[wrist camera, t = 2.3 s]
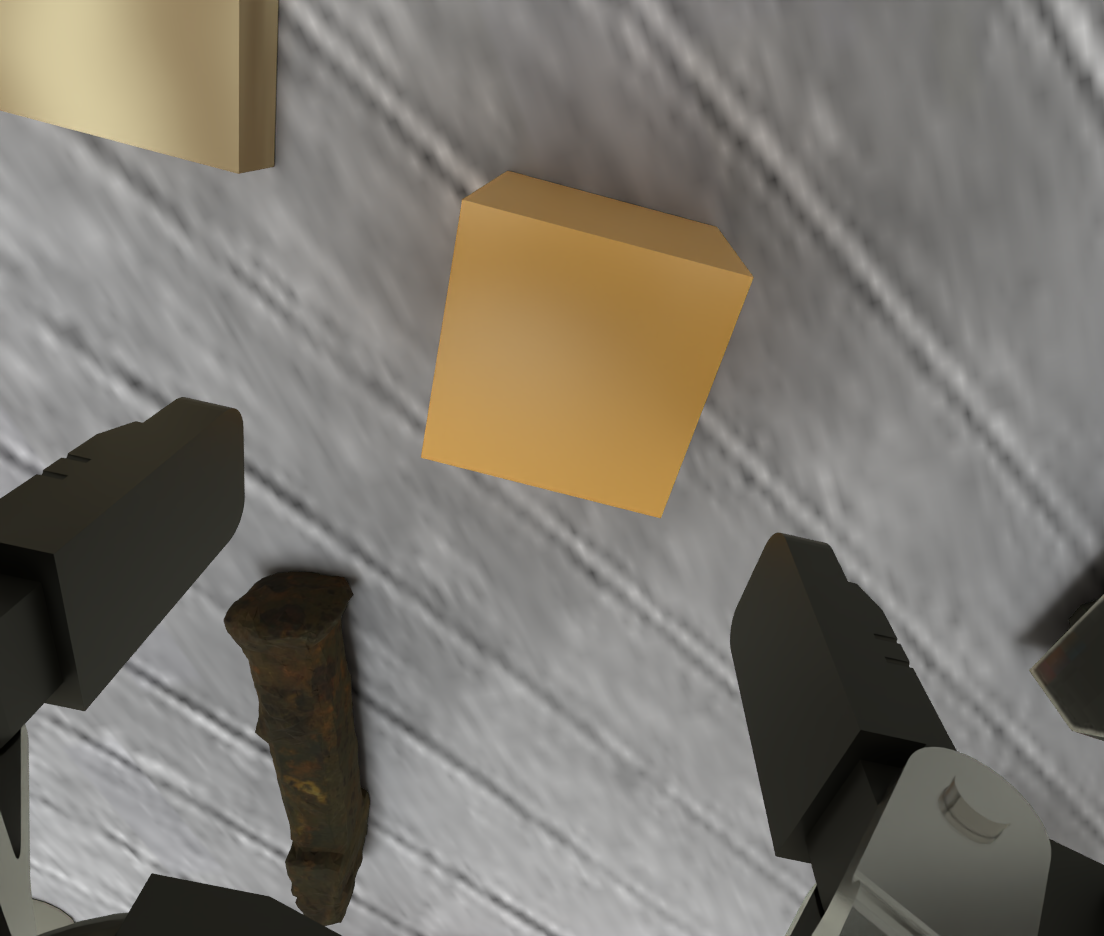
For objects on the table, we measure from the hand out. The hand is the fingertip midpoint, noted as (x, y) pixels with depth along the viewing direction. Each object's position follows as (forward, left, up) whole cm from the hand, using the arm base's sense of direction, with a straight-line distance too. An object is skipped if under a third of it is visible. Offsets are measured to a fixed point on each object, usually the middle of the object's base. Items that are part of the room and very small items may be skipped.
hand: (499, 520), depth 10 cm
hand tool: (+5, +22, -12) cm, 25 cm away
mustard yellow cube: (-1, 0, -12) cm, 12 cm away
